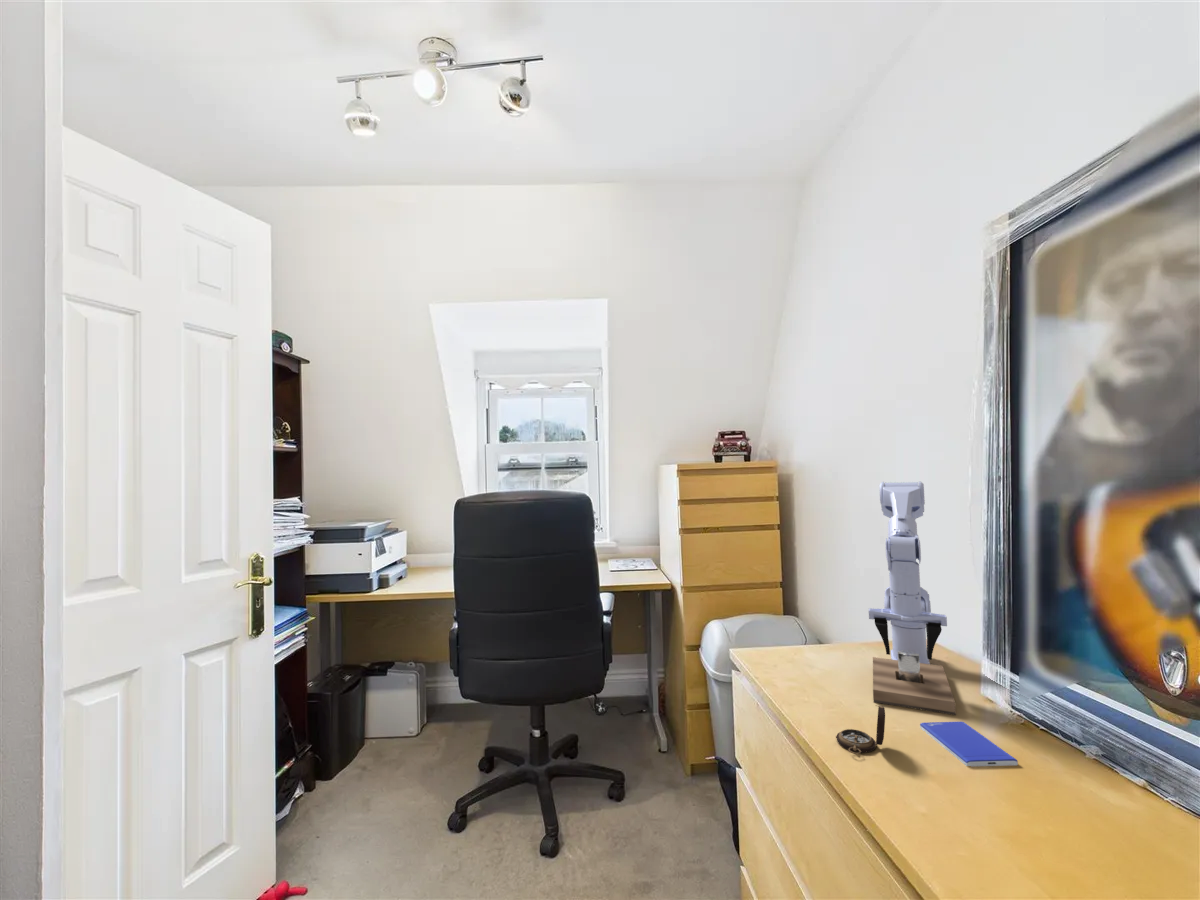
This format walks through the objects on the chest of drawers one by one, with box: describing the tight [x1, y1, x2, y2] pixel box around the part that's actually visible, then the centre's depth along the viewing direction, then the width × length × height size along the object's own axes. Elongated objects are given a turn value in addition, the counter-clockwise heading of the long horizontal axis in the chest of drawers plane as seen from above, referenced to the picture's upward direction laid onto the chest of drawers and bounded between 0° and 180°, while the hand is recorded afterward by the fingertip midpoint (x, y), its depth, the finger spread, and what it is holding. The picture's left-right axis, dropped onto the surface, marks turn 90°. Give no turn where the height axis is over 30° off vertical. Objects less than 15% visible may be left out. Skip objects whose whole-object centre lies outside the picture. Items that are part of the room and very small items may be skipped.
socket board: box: [872, 656, 957, 716], centre depth 112 cm, size 20×14×2 cm
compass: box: [835, 704, 886, 755], centre depth 90 cm, size 8×8×7 cm
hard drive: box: [919, 721, 1019, 767], centre depth 90 cm, size 2×8×12 cm
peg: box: [898, 650, 921, 683], centre depth 112 cm, size 4×4×7 cm
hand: (908, 655), depth 112 cm, fingers open, 7 cm apart
